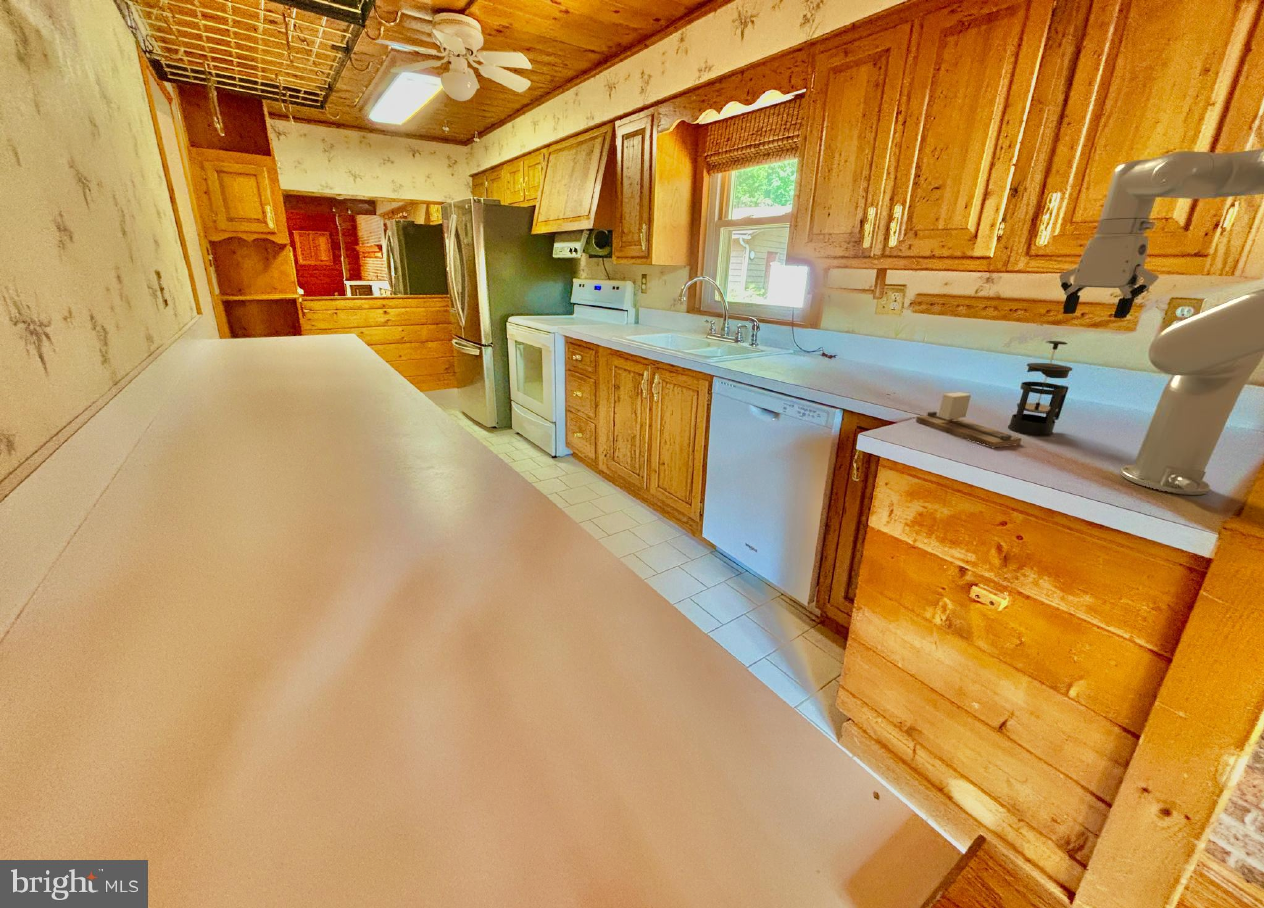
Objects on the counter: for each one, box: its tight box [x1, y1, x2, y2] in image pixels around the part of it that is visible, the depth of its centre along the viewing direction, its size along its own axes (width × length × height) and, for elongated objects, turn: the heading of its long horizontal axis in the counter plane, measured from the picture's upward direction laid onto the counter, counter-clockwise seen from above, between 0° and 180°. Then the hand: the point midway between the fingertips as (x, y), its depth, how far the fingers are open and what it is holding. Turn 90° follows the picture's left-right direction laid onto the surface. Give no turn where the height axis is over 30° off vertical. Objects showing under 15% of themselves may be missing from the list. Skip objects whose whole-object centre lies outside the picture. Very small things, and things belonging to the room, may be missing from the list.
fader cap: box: [938, 391, 971, 420], centre depth 131 cm, size 3×6×7 cm, turn 109°
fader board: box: [915, 411, 1022, 448], centre depth 129 cm, size 22×9×2 cm, turn 19°
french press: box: [1007, 340, 1073, 438], centre depth 126 cm, size 12×9×23 cm
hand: (1093, 315), depth 109 cm, fingers open, 9 cm apart
